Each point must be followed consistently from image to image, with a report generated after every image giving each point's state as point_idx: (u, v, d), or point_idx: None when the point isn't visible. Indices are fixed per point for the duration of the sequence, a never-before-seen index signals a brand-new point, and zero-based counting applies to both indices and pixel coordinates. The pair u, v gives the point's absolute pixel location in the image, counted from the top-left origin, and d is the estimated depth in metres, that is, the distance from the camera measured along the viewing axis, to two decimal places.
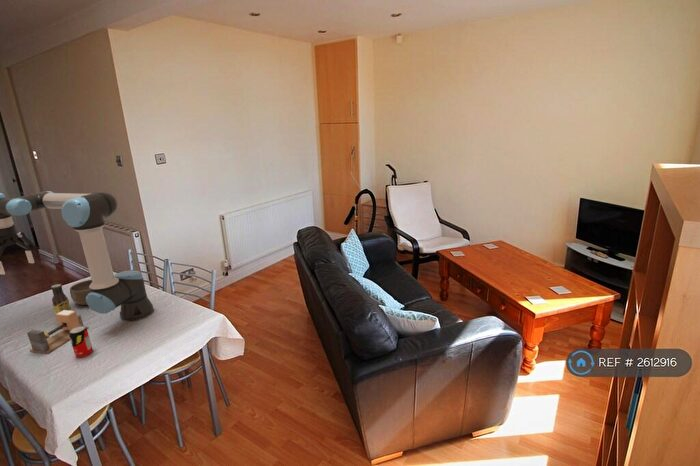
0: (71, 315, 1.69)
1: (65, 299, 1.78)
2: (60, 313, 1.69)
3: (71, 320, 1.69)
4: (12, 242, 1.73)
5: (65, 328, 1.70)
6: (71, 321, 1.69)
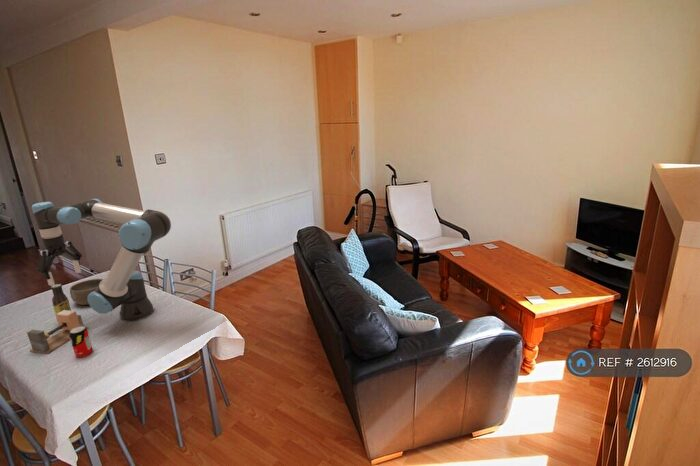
0: (71, 315, 1.69)
1: (65, 299, 1.78)
2: (60, 313, 1.69)
3: (71, 320, 1.69)
4: (60, 252, 1.69)
5: (65, 328, 1.70)
6: (71, 321, 1.69)
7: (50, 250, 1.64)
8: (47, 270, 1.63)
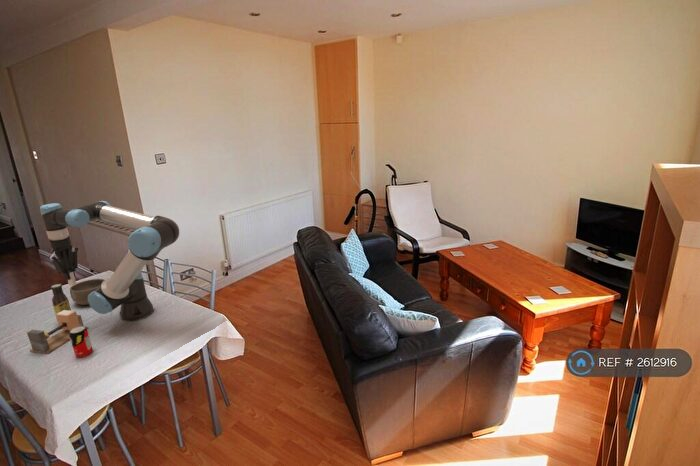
0: (71, 315, 1.69)
1: (65, 299, 1.78)
2: (60, 313, 1.69)
3: (71, 320, 1.69)
4: (67, 253, 1.68)
5: (65, 328, 1.70)
6: (71, 321, 1.69)
7: (57, 252, 1.64)
8: (67, 271, 1.69)
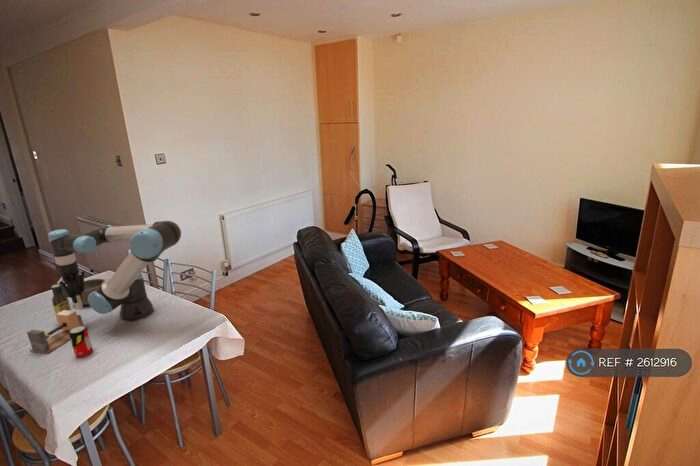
0: (71, 315, 1.69)
1: (65, 299, 1.78)
2: (60, 313, 1.69)
3: (71, 320, 1.69)
4: (74, 278, 1.72)
5: (65, 328, 1.70)
6: (71, 321, 1.69)
7: (64, 277, 1.67)
8: (74, 295, 1.72)
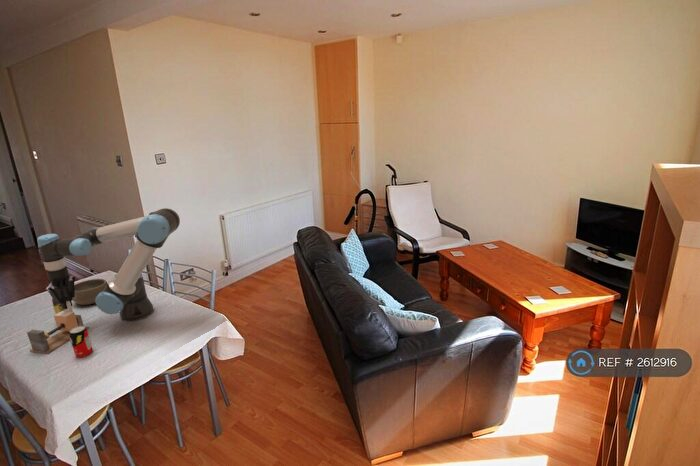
0: (69, 316, 1.68)
1: None
2: (58, 314, 1.68)
3: (69, 321, 1.68)
4: (64, 283, 1.67)
5: (63, 329, 1.69)
6: (69, 322, 1.68)
7: (54, 283, 1.63)
8: (64, 301, 1.68)
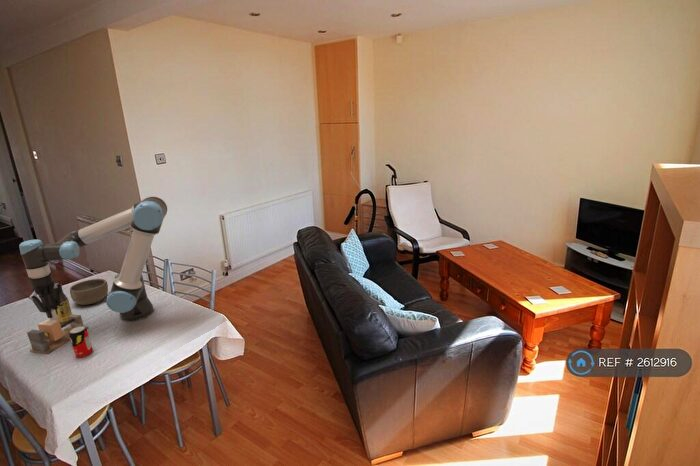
0: (54, 325, 1.61)
1: (65, 299, 1.78)
2: (42, 323, 1.61)
3: (54, 330, 1.61)
4: (49, 291, 1.61)
5: (48, 338, 1.62)
6: (54, 331, 1.61)
7: (38, 291, 1.56)
8: (49, 309, 1.61)
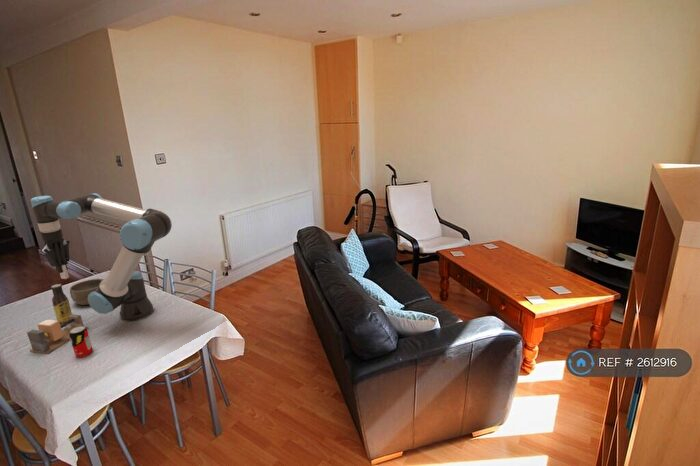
0: (54, 325, 1.61)
1: (65, 299, 1.78)
2: (42, 323, 1.61)
3: (54, 330, 1.61)
4: (59, 246, 1.68)
5: None
6: (54, 331, 1.61)
7: (49, 245, 1.63)
8: (60, 264, 1.68)
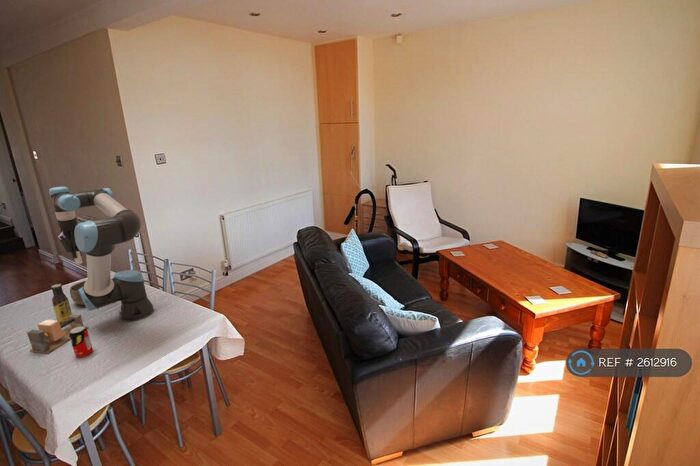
0: (54, 325, 1.61)
1: (65, 299, 1.78)
2: (42, 323, 1.61)
3: (54, 330, 1.61)
4: (74, 234, 1.81)
5: None
6: (54, 331, 1.61)
7: (65, 232, 1.76)
8: (74, 250, 1.81)
